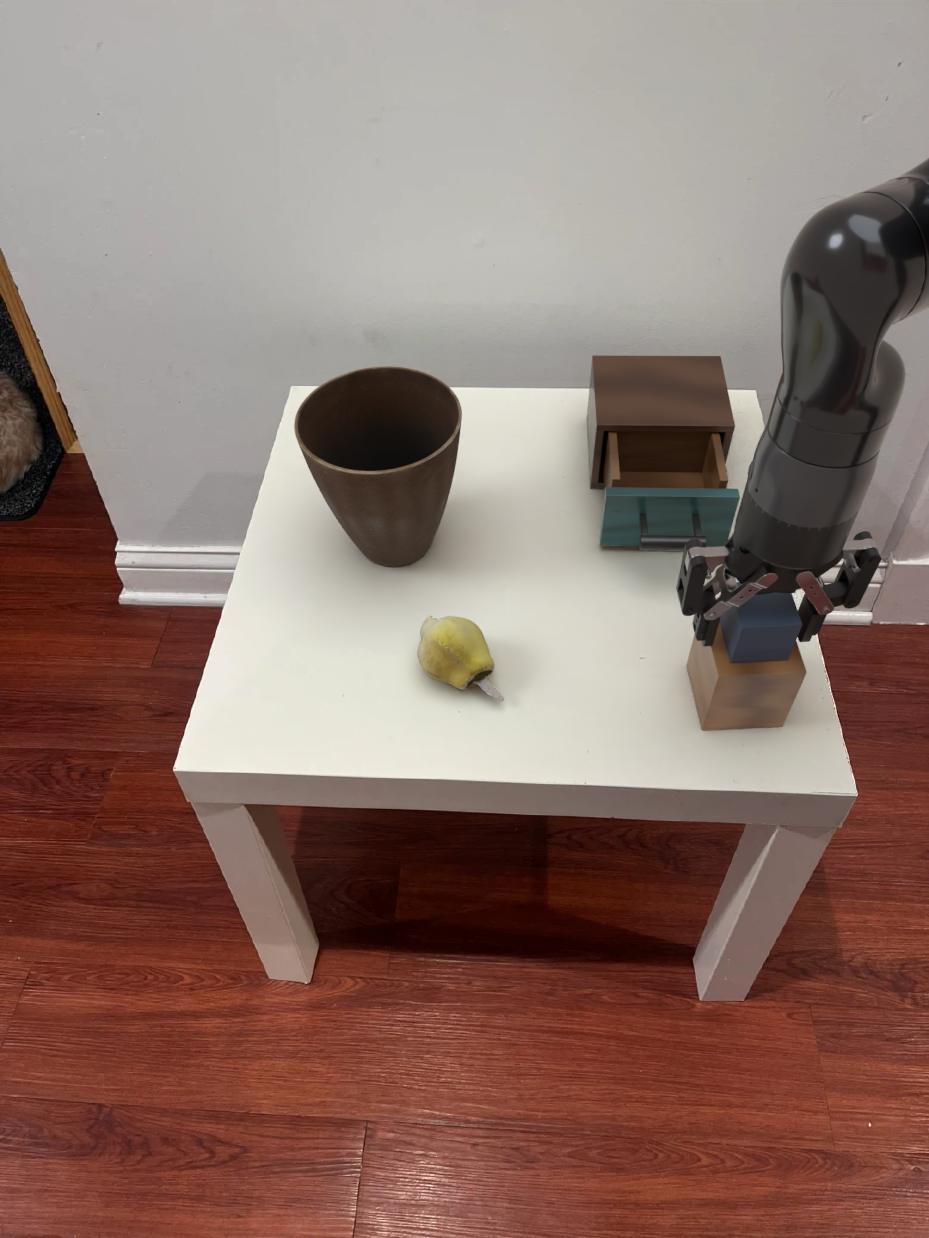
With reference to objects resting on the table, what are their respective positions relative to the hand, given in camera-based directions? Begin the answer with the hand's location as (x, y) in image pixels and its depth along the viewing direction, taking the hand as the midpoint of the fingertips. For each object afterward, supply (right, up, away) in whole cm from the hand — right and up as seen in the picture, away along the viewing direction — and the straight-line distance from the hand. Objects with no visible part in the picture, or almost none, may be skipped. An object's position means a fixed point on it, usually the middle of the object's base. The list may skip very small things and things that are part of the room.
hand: (753, 635), depth 75 cm
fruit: (-23, -4, +9) cm, 25 cm away
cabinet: (-3, +20, +27) cm, 34 cm away
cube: (0, -5, +7) cm, 9 cm away
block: (0, 0, 0) cm, 1 cm away
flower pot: (-31, +9, +20) cm, 38 cm away
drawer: (-3, +11, +19) cm, 22 cm away
